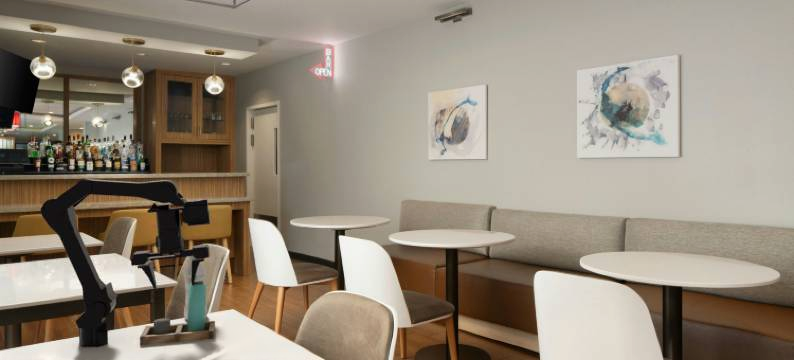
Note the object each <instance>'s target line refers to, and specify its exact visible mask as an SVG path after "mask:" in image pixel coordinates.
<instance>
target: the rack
mask: <svg viewBox="0 0 794 360" xmlns="http://www.w3.org/2000/svg"><path fill="white" fill-rule="evenodd" d="M170 330H171V333H169V334H157V335H154V325H145V327H144V328H143V331H142V332H141V335H140V336H139V346H147V345H160V344H161V345H162V344H171V343H172V344H173V343H182V342H183V343H185V342H195V341H196V342H197V341H205V340H214V339H215V332H216V321H215V320H212V321H205V330H204V331H194V332H187V322H186V323H185V322H184V323H172V324H171V323H170Z"/></svg>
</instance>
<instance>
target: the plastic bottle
mask: <svg viewBox="0 0 794 360" xmlns="http://www.w3.org/2000/svg"><path fill="white" fill-rule="evenodd" d="M193 258H194V257H193V256H187V261H188V262H187V264H185V265H186V266H185V267H184V268H183V272H182V274H183V275H182V276H183V281H184V289H185V302H184V307H183V318H184V320H185V321H187V319H188V297H189V284H192V282H191V275H192V260H193ZM202 262H203V261H202ZM202 262H200V263H199V266H198V269H197V273H196V277H195V281H204V282H203V284H206V278H207V269H206V266H205V265H204V264H203V263H202ZM207 316H208V306H207V305H206V307H205V319H207Z"/></svg>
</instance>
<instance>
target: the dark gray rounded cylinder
mask: <svg viewBox="0 0 794 360" xmlns="http://www.w3.org/2000/svg"><path fill="white" fill-rule="evenodd" d="M170 324H171V319H170V318H165V317H164V318H163V317H162V318H158V319H154V320H153V326H154V335H157V334H169V333H171V330H170Z"/></svg>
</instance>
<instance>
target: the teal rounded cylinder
mask: <svg viewBox="0 0 794 360" xmlns="http://www.w3.org/2000/svg"><path fill="white" fill-rule="evenodd" d="M203 282H204V281H194V285H192V284H189V297H188V319H187V320H186V321H187V322H186V323H187V332H194V331H204V330H205V322H206V318H205V307H206V306H207V303H206V301H207V283H205V284H203Z"/></svg>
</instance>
